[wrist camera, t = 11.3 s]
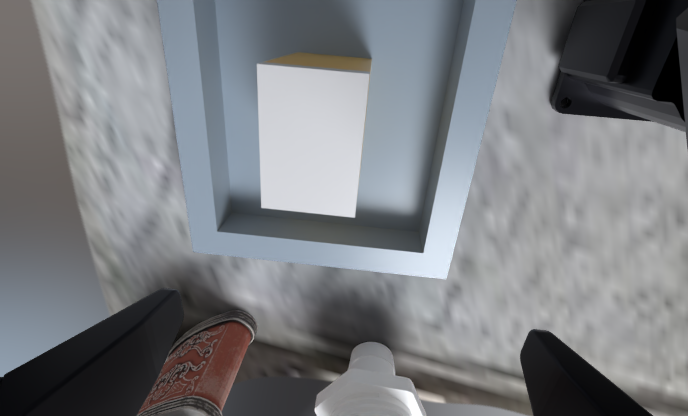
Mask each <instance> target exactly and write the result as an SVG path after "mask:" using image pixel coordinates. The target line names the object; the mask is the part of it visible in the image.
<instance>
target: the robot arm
mask: <svg viewBox="0 0 688 416" xmlns="http://www.w3.org/2000/svg"><path fill="white" fill-rule="evenodd" d="M559 68H560V70H561V73H560V77H559V80H558V83H557V86H556V89H555V92H554V95H553V98H552V102H551V106H552V108H553V109H554V110H555V111H557V112H559V113H563V114H574V115H585V116H597V117H608V118H619V119H631V120H642V121H653V122H657V123H660V124H663V125H666V126H669V127H672V128H675V129H678V130H681V131H684V132H686V137H687V148H688V0H584V3H582V4H581V5H580V6H579V7H578V8H577V10H576V14H575V17H574V20H573V23H572V26H571V29H570V32H569V35H568V38H567V42H566V45H565V48H564V51H563V54H562V57H561V60H560V63H559ZM564 98H567V99H568V102H567V104H566V105H564V106H562V107H561V106H560V102H561V101H562V99H564ZM183 315H184V314H183V307H182V302H181V296H180V292H179V291H178V290H176V289H167V288H162V289H160V290H158V291H156V292H154V293H152V294H150V295H149V296H147V297H145V298H143V299H141V300H140V301H138V302H136V303H134V304H132V305H130V306H129V307H127V308H125V309H123V310H121V311H119V312H118V313H116V314H114V315H112V316H110V317H109V318H107V319H105V320H103V321H101V322H99V323H98V324H96V325H94V326H92V327H90V328H89V329H87V330H85V331H83V332H81V333H79V334H78V335H76V336H74V337H72V338H70V339H69V340H67V341H65V342H63V343H61V344H59V345H58V346H56V347H54V348H52V349H50V350H48V351H47V352H45V353H43V354H41V355H39V356H37V357H36V358H34V359H32V360H30V361H29V362H27V363H25V364H23V365H21V366H20V367H17V368H16V369H14V370H12V371H10V372H8V373H6V374H5V375H4V377H0V416H137V414H138V413H139V411H140V409H141V407H142V406H143V404H144V402H145V400H146V398H147V397H148V395H149V393H150V391H151V390H152V388H153V386H154V384H155V382H156V380H157V378H158V376H159V374H160V372H161V370H162V368H163V365H164V363H165V361H166V358H167V356H168V354H169V352H170V349H171V347H172V345H173V342H174V340H175V338H176V335H177V333H178V331H179V329H180V326H181V324H182V321H183ZM520 361H521V365H522V370H523V374H524V378H525V382H526V387H527V391H528V395H529V399H530V404H531V408H532V412H533V416H653V415H652V414H650V413H649V412H648V411H647V410H646V409H644V408H643V407H642V406H641V405H639V404H638V403H637V402H636V401H634V400H633V399H632V398H631V397H630V396H628V395H627V394H626V393H625V392H623V391H622V390H621V389H620V388H619V387H617V386H616V385H615V384H614V383H612V382H611V381H610V380H609V379H608V378H606V377H605V376H604V375H603V374H601V373H600V372H599V371H598V370H597V369H595V368H594V367H593V366H592V365H590V364H589V363H588V362H587V361H585V360H584V359H583V358H582V357H581V356H579V355H578V354H577V353H576V352H574V351H573V350H572V349H571V348H570V347H568V346H567V345H566V344H565V343H563V342H562V341H561V340H560V339H559V338H557V337H556V336H555V335H554V334H552V333H551V332H549V331H546V330H537V329H533V330H531V331H530V332H529V333H528V336H527V338H526V340H525V343H524V345H523V348H522V350H521V354H520Z"/></svg>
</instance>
